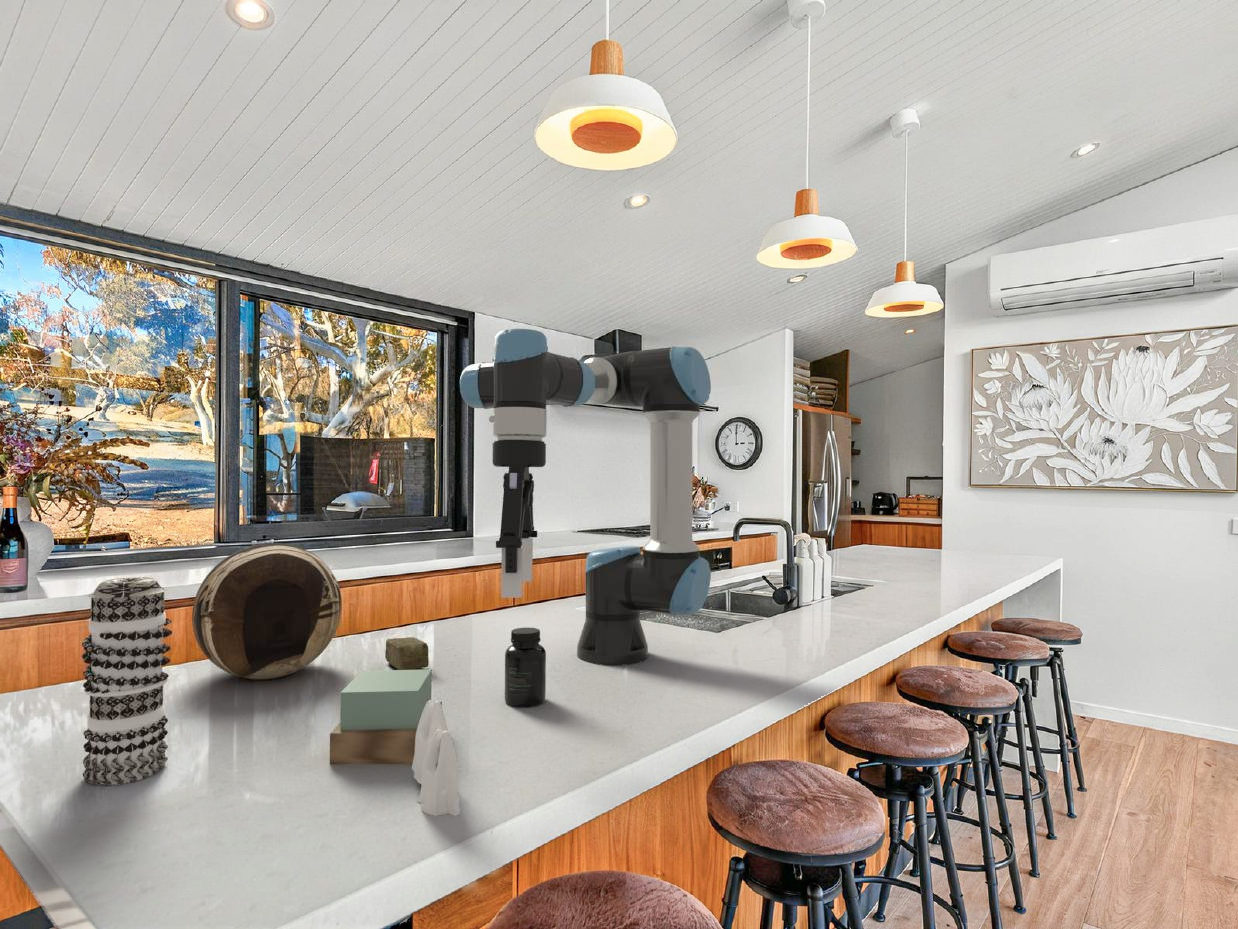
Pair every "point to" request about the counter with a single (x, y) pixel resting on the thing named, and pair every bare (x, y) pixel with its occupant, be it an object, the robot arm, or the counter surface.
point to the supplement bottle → (525, 669)
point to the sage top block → (385, 699)
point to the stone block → (407, 653)
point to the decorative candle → (125, 681)
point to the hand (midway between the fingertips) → (517, 589)
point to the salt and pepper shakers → (436, 763)
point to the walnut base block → (372, 746)
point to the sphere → (266, 611)
